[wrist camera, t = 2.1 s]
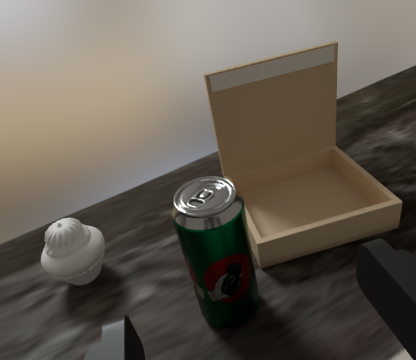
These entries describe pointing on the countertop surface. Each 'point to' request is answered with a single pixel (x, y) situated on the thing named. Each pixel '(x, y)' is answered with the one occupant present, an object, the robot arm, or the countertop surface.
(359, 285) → the robot arm
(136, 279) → the countertop surface
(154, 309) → the countertop surface
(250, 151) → the mailer box
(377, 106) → the countertop surface
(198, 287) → the soda can
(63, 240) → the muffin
